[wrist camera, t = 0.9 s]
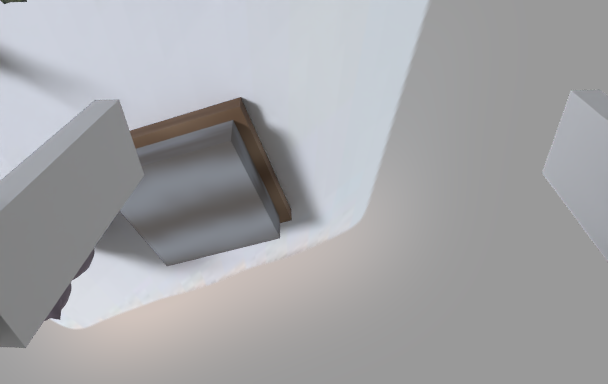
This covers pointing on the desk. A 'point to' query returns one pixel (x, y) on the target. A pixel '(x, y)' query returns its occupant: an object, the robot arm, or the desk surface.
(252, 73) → the desk surface
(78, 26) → the desk surface
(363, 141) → the desk surface
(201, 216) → the display plinth
